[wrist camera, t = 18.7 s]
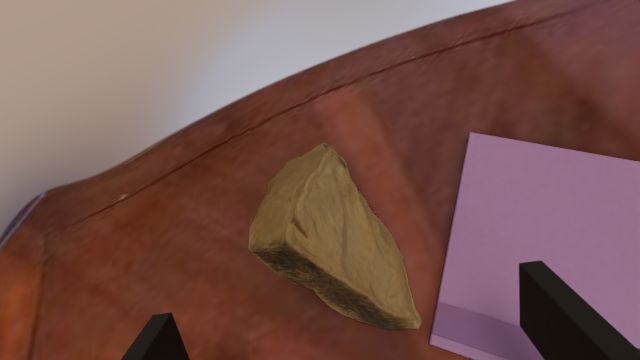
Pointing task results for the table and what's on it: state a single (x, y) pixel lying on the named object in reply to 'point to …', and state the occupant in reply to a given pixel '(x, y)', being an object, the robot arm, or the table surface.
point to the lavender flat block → (536, 242)
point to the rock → (332, 242)
